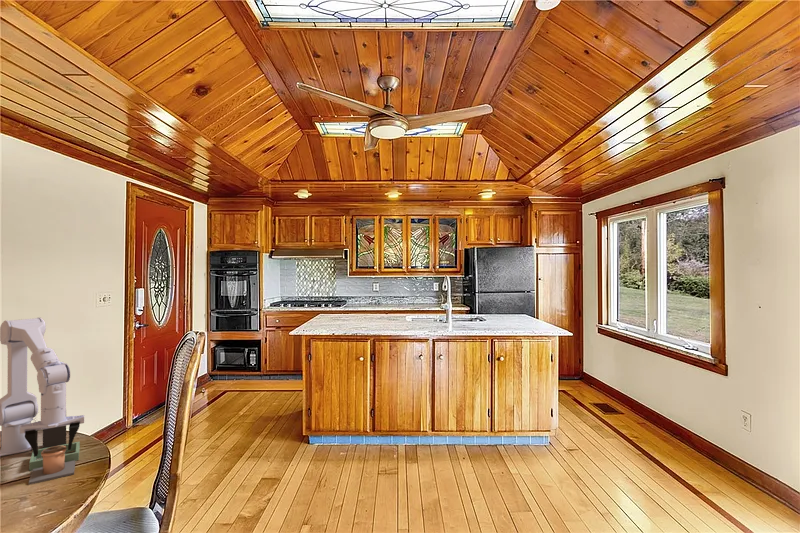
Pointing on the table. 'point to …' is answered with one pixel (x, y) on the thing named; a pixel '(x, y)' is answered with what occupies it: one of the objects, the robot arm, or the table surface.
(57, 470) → the terracotta pot
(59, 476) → the slate mat
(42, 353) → the robot arm
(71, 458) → the frame
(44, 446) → the phone stand
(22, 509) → the table surface
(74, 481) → the table surface
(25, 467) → the table surface
